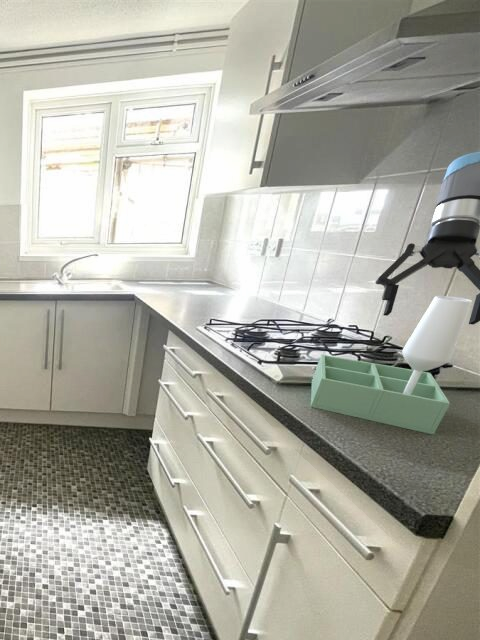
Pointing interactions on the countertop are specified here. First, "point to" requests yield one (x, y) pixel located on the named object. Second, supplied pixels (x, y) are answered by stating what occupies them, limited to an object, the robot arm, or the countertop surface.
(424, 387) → the divided storage box
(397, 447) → the countertop surface
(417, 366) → the champagne flute
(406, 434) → the countertop surface
